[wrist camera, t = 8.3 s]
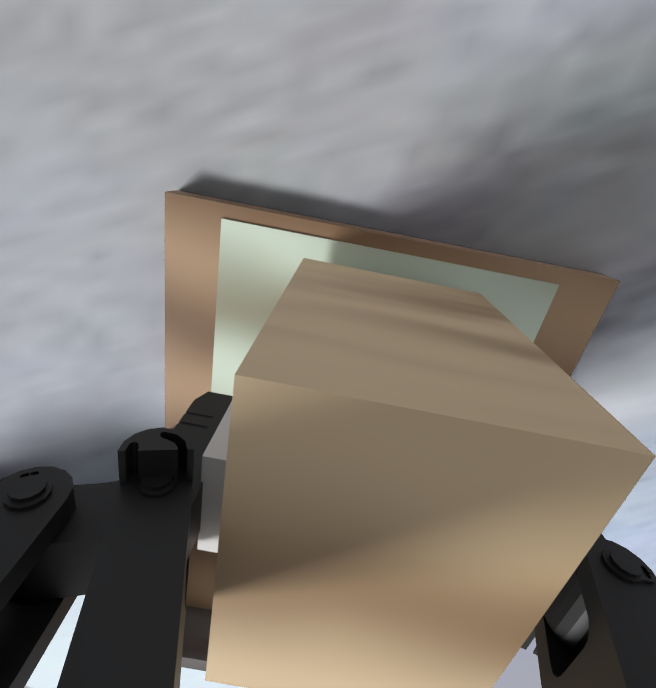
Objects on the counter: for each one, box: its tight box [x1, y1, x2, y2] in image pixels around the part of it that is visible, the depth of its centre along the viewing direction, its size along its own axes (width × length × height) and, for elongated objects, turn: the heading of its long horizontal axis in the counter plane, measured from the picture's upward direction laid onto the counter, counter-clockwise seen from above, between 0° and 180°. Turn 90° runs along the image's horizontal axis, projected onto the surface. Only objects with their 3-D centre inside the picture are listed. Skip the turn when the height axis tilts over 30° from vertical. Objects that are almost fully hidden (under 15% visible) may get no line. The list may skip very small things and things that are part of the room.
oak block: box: [205, 258, 656, 688], centre depth 11 cm, size 8×6×8 cm
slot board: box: [165, 190, 620, 671], centre depth 17 cm, size 24×16×4 cm, turn 170°
